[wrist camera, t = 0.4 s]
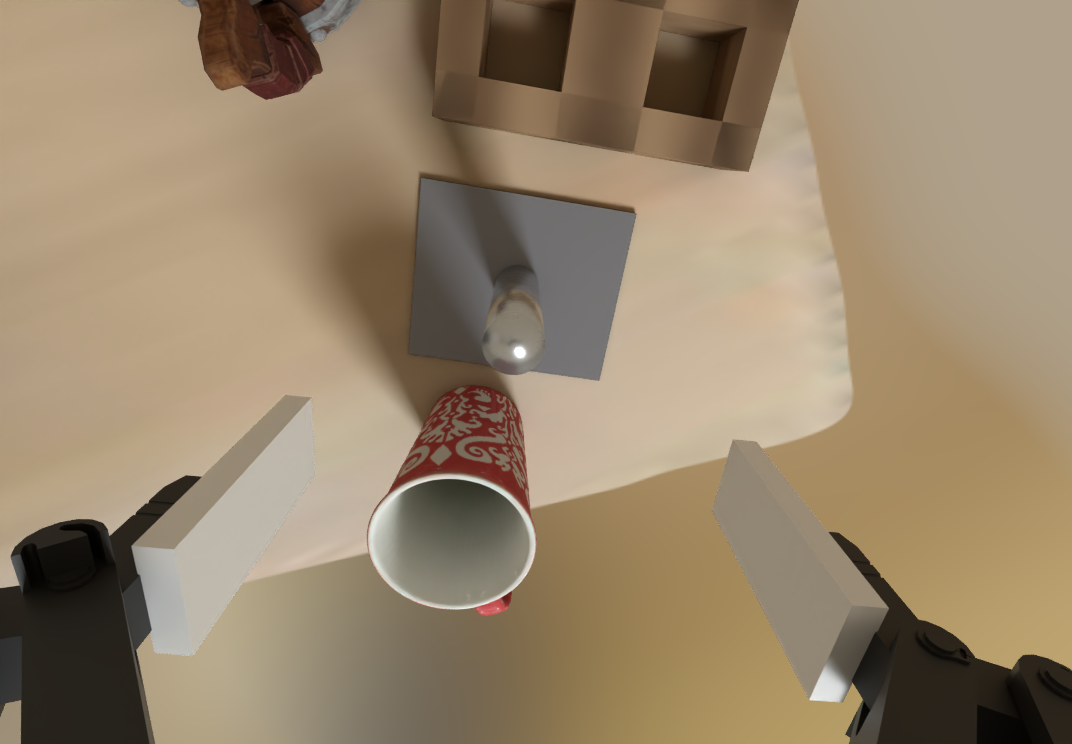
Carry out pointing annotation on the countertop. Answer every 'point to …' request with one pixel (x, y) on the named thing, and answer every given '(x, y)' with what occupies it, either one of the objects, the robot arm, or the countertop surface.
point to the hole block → (622, 77)
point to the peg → (515, 323)
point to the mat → (506, 240)
